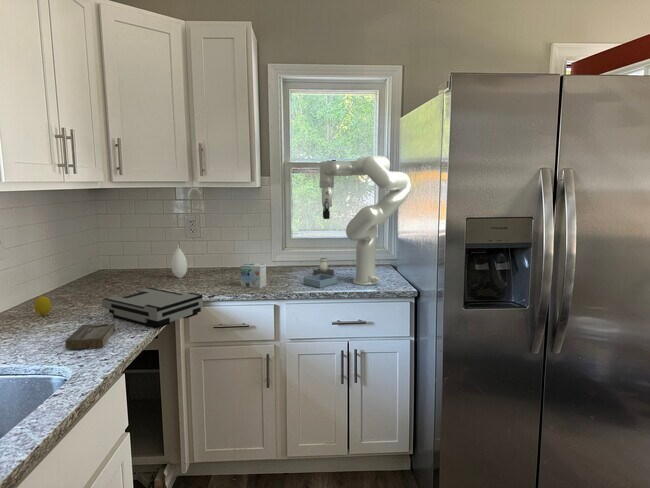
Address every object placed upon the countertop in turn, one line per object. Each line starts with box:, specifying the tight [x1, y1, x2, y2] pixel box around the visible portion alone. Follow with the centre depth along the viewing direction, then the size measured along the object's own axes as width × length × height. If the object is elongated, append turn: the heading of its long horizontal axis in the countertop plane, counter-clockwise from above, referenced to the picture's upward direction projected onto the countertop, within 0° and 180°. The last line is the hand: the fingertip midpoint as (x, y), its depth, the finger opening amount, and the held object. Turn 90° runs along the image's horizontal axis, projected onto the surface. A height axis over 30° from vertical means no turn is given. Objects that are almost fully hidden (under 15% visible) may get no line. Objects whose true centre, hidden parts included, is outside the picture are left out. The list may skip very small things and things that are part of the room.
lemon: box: [33, 295, 52, 317], centre depth 169 cm, size 6×6×8 cm
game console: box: [101, 287, 204, 330], centre depth 169 cm, size 21×32×8 cm, turn 58°
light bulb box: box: [240, 262, 267, 289], centre depth 215 cm, size 11×7×11 cm, turn 73°
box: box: [65, 322, 116, 350], centre depth 144 cm, size 11×17×3 cm, turn 13°
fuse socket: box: [312, 267, 335, 276], centre depth 238 cm, size 8×8×3 cm
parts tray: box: [303, 274, 338, 289], centre depth 217 cm, size 11×12×4 cm
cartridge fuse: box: [319, 257, 328, 271], centre depth 237 cm, size 4×4×9 cm
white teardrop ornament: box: [171, 244, 188, 279], centre depth 233 cm, size 8×8×18 cm
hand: (326, 217), depth 234 cm, fingers open, 9 cm apart
